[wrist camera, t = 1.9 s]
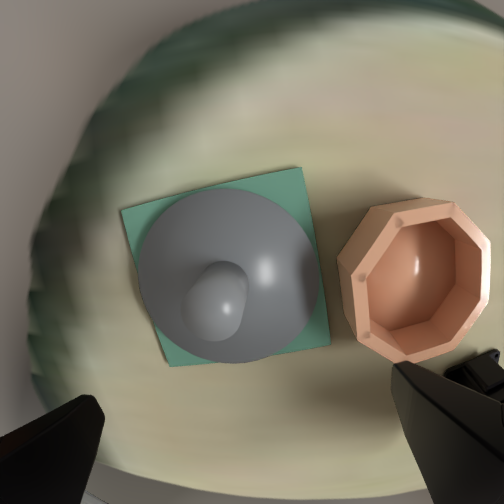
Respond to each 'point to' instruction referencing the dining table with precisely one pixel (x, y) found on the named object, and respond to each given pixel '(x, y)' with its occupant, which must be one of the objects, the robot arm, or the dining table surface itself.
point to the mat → (275, 189)
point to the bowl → (414, 278)
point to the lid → (228, 275)
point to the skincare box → (91, 499)
